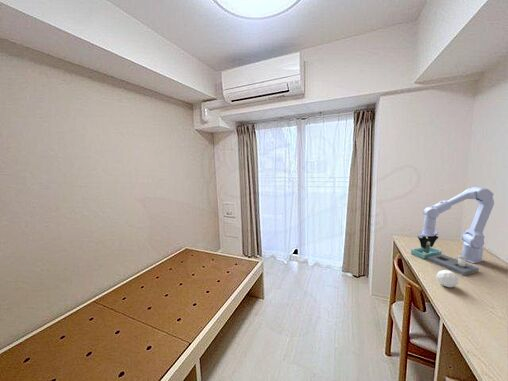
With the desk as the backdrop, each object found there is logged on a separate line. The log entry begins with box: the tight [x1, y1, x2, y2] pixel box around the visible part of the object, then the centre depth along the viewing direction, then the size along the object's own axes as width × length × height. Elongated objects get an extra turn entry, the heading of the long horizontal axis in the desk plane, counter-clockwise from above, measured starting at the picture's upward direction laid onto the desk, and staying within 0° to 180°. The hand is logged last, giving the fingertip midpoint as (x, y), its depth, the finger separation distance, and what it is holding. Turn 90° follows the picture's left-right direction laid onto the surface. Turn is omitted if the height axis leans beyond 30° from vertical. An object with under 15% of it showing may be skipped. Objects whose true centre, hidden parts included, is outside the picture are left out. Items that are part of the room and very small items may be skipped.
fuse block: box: [426, 253, 479, 276], centre depth 122 cm, size 12×18×2 cm, turn 17°
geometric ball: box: [436, 269, 459, 288], centre depth 103 cm, size 8×8×8 cm
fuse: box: [457, 254, 467, 269], centre depth 117 cm, size 3×3×8 cm
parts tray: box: [410, 246, 443, 260], centre depth 135 cm, size 15×8×3 cm, turn 107°
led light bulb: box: [423, 241, 430, 254], centre depth 135 cm, size 3×3×8 cm
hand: (426, 247), depth 134 cm, fingers open, 6 cm apart
